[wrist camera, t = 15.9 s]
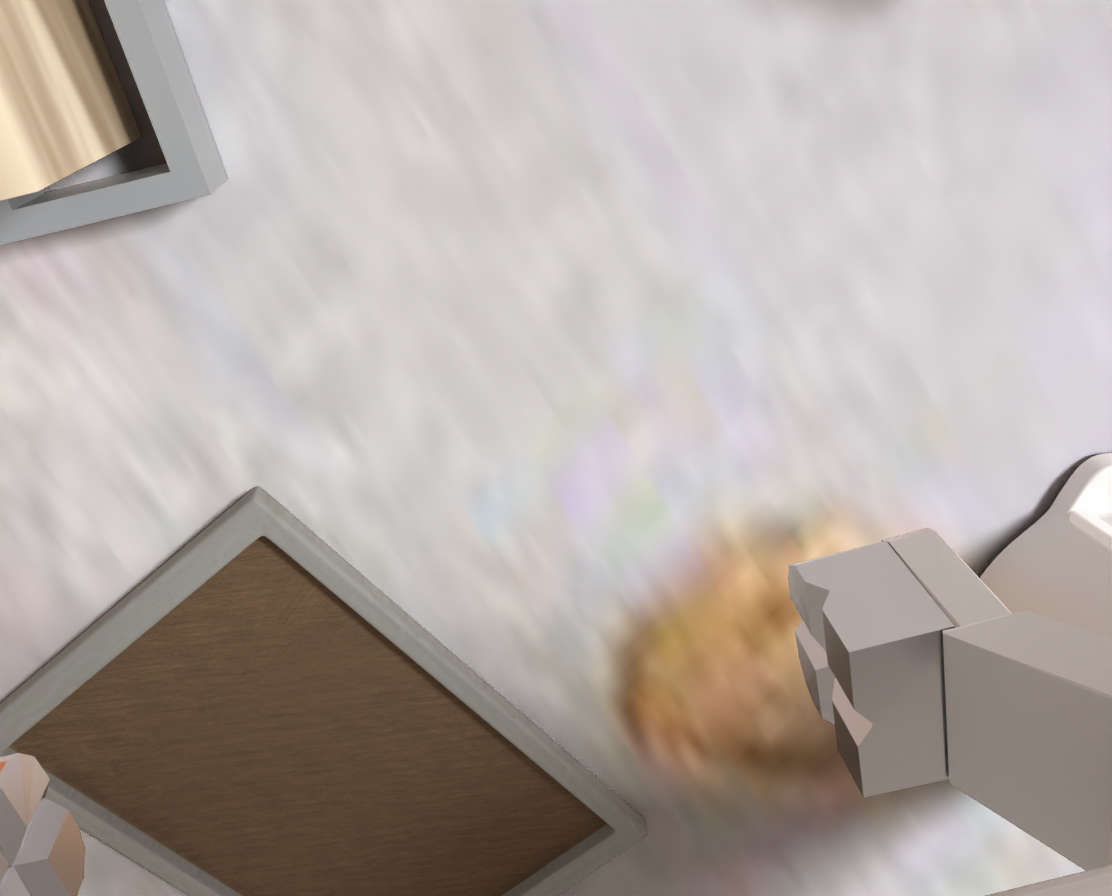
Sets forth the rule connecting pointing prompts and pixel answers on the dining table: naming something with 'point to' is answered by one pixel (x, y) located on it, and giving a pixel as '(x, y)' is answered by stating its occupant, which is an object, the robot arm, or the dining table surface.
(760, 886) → the dining table surface
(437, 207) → the dining table surface
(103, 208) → the cradle
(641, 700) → the dining table surface
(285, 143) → the dining table surface
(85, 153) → the chamfered cream block
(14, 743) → the grey framed brown tray
